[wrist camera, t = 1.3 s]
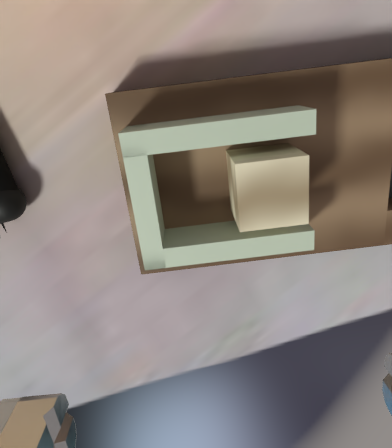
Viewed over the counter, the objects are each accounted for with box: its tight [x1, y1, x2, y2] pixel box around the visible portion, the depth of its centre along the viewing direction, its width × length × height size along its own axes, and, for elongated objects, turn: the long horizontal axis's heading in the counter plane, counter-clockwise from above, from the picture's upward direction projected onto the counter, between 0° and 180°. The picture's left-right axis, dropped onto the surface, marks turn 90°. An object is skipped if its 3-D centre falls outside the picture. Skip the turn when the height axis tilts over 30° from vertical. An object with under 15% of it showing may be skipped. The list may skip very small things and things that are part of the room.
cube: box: [226, 143, 309, 232], centre depth 24 cm, size 4×4×4 cm
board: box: [105, 58, 392, 274], centre depth 28 cm, size 14×36×3 cm, turn 96°
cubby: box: [118, 105, 316, 270], centre depth 25 cm, size 10×12×4 cm
